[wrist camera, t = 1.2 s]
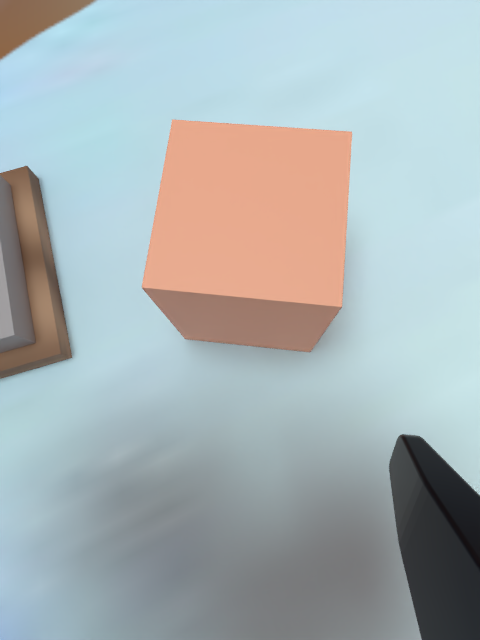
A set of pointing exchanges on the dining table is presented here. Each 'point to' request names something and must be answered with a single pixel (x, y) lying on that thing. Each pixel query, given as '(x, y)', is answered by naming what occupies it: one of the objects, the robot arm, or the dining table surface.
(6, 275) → the grey square slab
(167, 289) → the terracotta block
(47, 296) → the tower base block
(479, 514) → the robot arm
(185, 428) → the dining table surface
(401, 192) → the dining table surface
